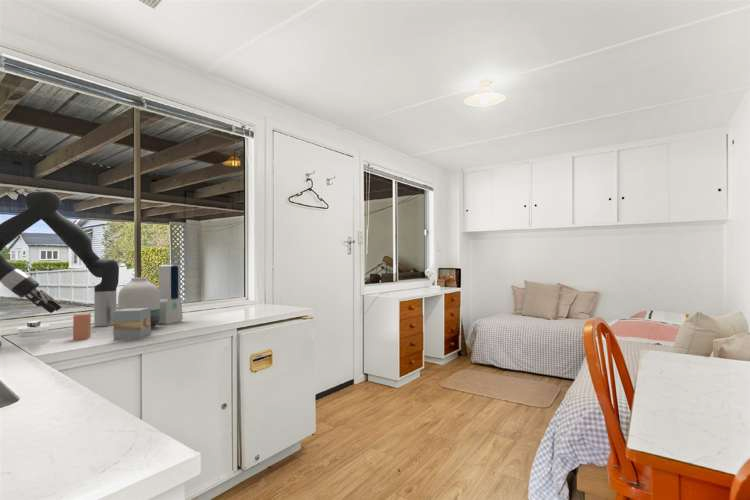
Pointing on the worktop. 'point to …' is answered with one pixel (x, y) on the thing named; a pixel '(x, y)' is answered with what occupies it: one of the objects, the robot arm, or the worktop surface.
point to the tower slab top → (131, 314)
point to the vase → (141, 297)
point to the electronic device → (169, 294)
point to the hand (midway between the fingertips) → (56, 310)
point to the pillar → (81, 326)
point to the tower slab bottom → (132, 334)
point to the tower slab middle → (132, 325)
